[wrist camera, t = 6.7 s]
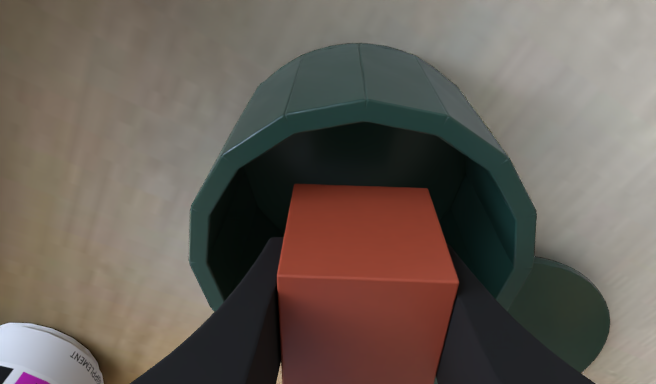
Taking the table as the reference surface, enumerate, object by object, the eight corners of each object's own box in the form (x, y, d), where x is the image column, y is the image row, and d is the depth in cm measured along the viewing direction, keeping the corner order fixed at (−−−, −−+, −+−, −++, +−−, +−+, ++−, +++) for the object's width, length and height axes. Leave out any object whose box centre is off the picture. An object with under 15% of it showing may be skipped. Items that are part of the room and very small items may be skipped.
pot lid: (646, 309, 22) (711, 392, 18) (489, 410, 28) (515, 492, 24) (488, 208, 19) (526, 280, 15) (346, 343, 25) (346, 423, 21)
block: (428, 187, 13) (460, 282, 10) (411, 286, 15) (432, 393, 12) (293, 182, 13) (276, 275, 10) (295, 282, 15) (281, 387, 12)
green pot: (530, 137, 18) (615, 231, 12) (377, 288, 22) (389, 405, 17) (318, -18, 15) (304, 14, 9) (195, 192, 19) (138, 295, 14)
